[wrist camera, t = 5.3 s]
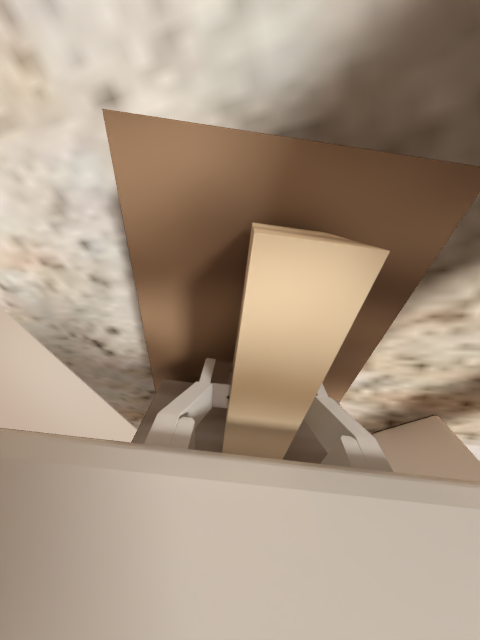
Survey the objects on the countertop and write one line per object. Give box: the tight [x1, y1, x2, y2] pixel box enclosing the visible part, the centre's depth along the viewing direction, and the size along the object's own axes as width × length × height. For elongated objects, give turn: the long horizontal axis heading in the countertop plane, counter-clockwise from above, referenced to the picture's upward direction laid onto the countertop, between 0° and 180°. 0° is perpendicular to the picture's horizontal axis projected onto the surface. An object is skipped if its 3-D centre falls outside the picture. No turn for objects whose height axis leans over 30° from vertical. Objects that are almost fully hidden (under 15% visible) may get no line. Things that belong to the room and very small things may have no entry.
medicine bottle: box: [373, 416, 480, 482], centre depth 18 cm, size 7×7×12 cm
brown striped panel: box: [102, 109, 480, 402], centre depth 14 cm, size 22×14×4 cm, turn 173°
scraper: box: [131, 222, 390, 464], centre depth 9 cm, size 12×12×4 cm
